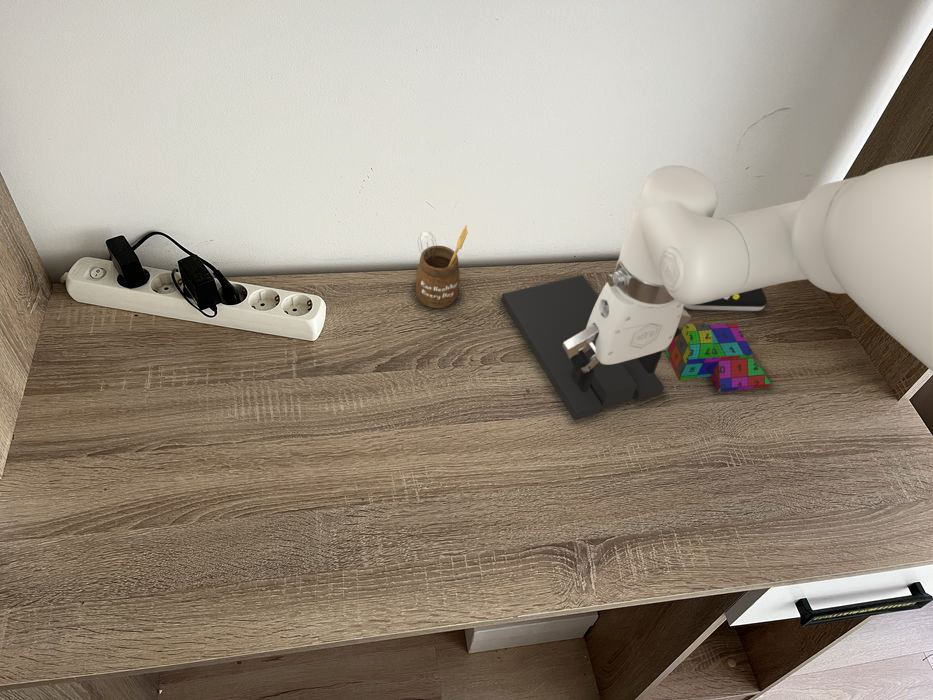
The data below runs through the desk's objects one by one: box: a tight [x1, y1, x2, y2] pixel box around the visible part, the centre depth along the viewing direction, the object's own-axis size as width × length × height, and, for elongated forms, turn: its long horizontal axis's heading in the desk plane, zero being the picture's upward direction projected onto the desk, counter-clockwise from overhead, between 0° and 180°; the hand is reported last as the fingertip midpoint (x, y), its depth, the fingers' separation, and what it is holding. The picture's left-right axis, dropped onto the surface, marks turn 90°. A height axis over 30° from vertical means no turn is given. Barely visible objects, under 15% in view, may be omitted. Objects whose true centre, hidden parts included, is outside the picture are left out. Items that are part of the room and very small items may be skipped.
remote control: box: [684, 288, 768, 312], centre depth 110 cm, size 6×13×2 cm, turn 94°
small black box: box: [590, 362, 637, 409], centre depth 96 cm, size 5×4×3 cm
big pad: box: [500, 274, 665, 421], centre depth 101 cm, size 22×13×2 cm, turn 23°
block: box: [664, 320, 772, 393], centre depth 99 cm, size 12×8×7 cm
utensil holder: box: [415, 224, 469, 309], centre depth 101 cm, size 6×6×12 cm
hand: (612, 374), depth 95 cm, fingers open, 9 cm apart
